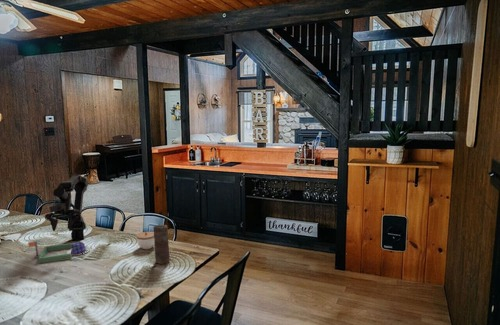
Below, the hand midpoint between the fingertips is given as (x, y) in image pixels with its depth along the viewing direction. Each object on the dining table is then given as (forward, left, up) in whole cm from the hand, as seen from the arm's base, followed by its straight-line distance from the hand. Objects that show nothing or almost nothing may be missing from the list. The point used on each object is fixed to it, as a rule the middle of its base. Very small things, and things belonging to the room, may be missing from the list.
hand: (61, 229), depth 190 cm
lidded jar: (-44, +5, -15) cm, 47 cm away
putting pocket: (+6, -3, -15) cm, 16 cm away
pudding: (-7, -3, -15) cm, 17 cm away
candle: (-50, +29, -15) cm, 60 cm away
